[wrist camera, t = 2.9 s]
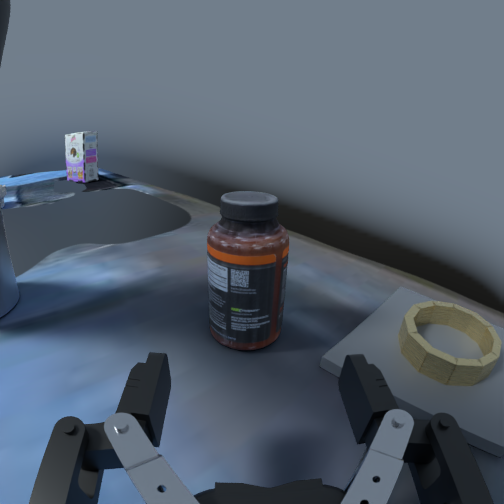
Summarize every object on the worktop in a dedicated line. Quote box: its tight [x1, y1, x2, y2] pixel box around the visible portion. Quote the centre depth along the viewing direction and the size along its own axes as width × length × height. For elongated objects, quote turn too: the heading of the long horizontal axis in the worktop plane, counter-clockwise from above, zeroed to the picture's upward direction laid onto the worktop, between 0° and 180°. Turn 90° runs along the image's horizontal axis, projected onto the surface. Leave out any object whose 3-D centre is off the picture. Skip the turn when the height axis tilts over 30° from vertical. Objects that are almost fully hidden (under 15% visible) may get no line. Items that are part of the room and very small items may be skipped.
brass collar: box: [398, 301, 502, 386], centre depth 21 cm, size 9×9×2 cm
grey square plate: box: [319, 287, 504, 458], centre depth 22 cm, size 16×16×1 cm
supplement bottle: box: [207, 191, 289, 350], centre depth 24 cm, size 6×6×11 cm
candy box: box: [65, 131, 99, 183], centre depth 90 cm, size 14×6×16 cm, turn 60°
